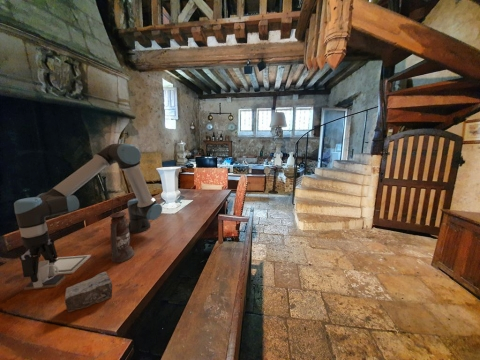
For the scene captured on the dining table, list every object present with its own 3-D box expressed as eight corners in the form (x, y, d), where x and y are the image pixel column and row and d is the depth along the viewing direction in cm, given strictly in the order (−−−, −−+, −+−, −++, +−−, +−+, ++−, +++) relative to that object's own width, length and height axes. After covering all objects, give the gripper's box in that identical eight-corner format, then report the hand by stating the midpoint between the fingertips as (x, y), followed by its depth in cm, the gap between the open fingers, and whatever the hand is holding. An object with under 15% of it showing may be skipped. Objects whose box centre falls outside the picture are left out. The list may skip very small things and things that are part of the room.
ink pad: (65, 277, 85) (65, 274, 84) (56, 286, 79) (55, 283, 79) (36, 280, 83) (35, 277, 82) (24, 289, 77) (23, 286, 77)
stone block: (111, 284, 81) (109, 269, 80) (114, 297, 75) (111, 281, 73) (68, 301, 72) (65, 284, 71) (67, 317, 66) (63, 299, 64)
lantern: (103, 266, 93) (94, 202, 86) (120, 248, 108) (113, 193, 102) (126, 265, 94) (118, 201, 87) (139, 247, 110) (133, 192, 103)
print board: (90, 256, 101) (90, 254, 101) (72, 273, 88) (72, 271, 87) (58, 258, 98) (57, 257, 98) (34, 277, 85) (33, 275, 85)
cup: (37, 276, 83) (34, 261, 81) (64, 272, 86) (61, 257, 84) (25, 288, 76) (20, 271, 75) (54, 283, 79) (50, 267, 78)
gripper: (44, 224, 85) (53, 267, 89) (-2, 246, 66) (13, 299, 71) (62, 223, 86) (70, 266, 91) (22, 245, 68) (35, 297, 72)
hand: (45, 280), depth 81 cm, fingers closed on cup, 6 cm apart
